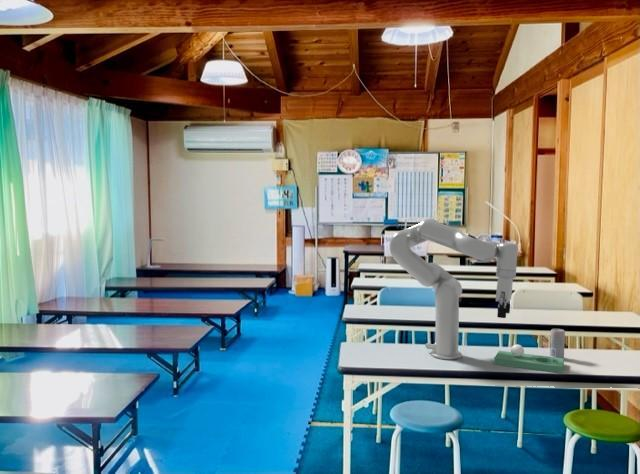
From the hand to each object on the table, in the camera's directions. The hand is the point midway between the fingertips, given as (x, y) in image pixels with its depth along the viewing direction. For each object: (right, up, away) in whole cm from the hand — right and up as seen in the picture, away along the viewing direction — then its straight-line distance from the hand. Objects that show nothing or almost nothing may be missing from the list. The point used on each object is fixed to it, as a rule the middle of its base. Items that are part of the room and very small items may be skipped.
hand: (503, 315), depth 222 cm
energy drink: (+24, -19, +6) cm, 32 cm away
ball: (+6, -14, 0) cm, 15 cm away
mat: (+10, -19, -2) cm, 22 cm away
